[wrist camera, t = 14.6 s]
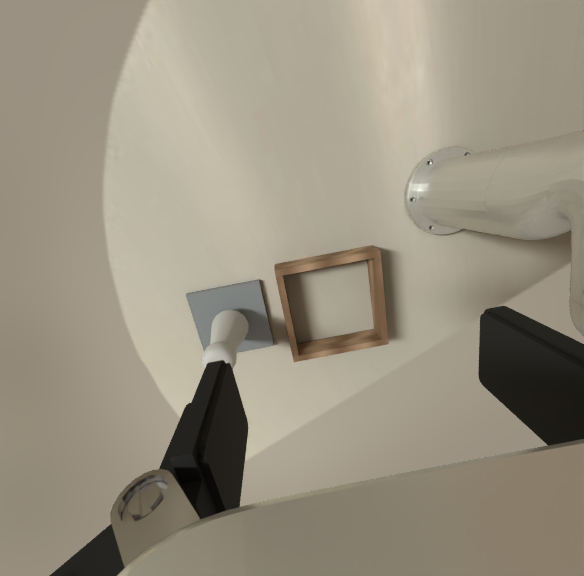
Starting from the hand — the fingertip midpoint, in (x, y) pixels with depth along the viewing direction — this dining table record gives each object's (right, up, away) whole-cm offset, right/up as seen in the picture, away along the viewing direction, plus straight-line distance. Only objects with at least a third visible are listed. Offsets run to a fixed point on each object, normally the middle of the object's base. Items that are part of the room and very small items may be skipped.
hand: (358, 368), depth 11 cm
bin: (+4, +1, +38) cm, 38 cm away
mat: (-13, -2, +38) cm, 40 cm away
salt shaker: (-13, -3, +38) cm, 40 cm away
